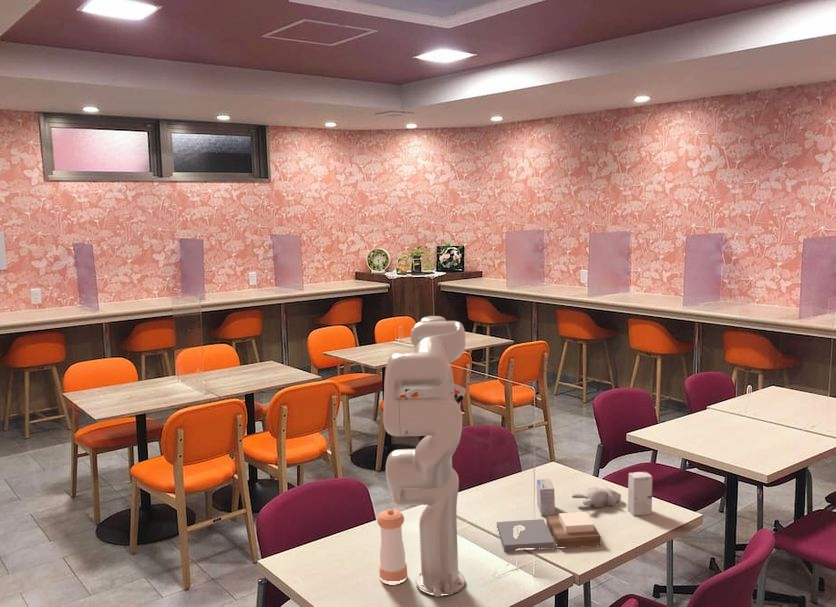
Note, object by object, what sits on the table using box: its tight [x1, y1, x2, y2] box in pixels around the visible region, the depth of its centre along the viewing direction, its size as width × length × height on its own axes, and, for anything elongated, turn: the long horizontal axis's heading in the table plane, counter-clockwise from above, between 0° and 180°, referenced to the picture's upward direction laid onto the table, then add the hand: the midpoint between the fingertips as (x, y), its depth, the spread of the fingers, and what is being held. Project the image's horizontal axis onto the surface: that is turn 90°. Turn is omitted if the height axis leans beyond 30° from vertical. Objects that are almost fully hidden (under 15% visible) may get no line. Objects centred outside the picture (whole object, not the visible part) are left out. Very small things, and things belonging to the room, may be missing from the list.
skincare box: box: [627, 471, 653, 516], centre depth 218 cm, size 6×4×12 cm
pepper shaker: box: [376, 508, 408, 581], centre depth 186 cm, size 7×7×19 cm
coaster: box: [558, 511, 595, 533], centre depth 206 cm, size 8×8×2 cm
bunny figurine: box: [571, 486, 622, 509], centre depth 225 cm, size 10×5×15 cm
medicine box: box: [536, 478, 556, 517], centre depth 222 cm, size 8×4×9 cm, turn 179°
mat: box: [496, 519, 555, 553], centre depth 206 cm, size 14×14×2 cm
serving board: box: [546, 514, 601, 548], centre depth 206 cm, size 14×12×3 cm
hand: (436, 419), depth 202 cm, fingers open, 9 cm apart
